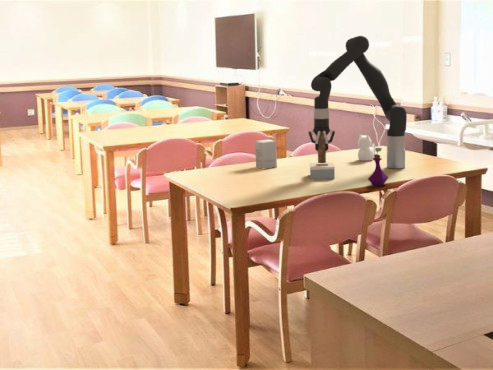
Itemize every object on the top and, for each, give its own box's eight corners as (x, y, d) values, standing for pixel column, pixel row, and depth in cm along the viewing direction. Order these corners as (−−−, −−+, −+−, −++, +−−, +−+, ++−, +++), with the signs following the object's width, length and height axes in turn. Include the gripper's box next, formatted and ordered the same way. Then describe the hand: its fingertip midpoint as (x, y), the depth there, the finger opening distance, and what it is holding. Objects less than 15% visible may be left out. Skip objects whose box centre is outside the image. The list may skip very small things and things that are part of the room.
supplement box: (269, 165, 404) (269, 138, 401) (277, 167, 396) (276, 140, 393) (255, 167, 400) (254, 140, 397) (262, 169, 392) (261, 142, 389)
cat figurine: (353, 160, 409) (353, 134, 406) (368, 157, 417) (368, 132, 413) (365, 162, 402) (364, 136, 399) (380, 159, 410) (380, 133, 406)
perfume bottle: (382, 187, 338) (382, 149, 334) (367, 185, 342) (367, 148, 338) (388, 184, 344) (388, 147, 341) (373, 182, 348) (373, 146, 345)
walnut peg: (325, 161, 367) (325, 130, 364) (326, 163, 363) (325, 131, 360) (317, 161, 367) (317, 130, 364) (318, 163, 363) (317, 132, 360)
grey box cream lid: (333, 174, 372) (333, 162, 371) (334, 178, 360) (334, 166, 359) (310, 174, 373) (310, 163, 372) (310, 179, 361) (310, 167, 360)
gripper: (335, 116, 364) (335, 149, 367) (307, 116, 365) (307, 150, 368) (336, 117, 356) (336, 151, 360) (307, 118, 357) (307, 152, 361)
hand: (321, 150), depth 364 cm, fingers closed on walnut peg, 4 cm apart
